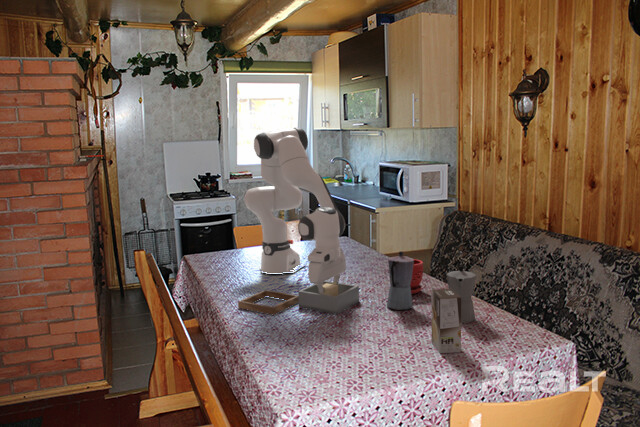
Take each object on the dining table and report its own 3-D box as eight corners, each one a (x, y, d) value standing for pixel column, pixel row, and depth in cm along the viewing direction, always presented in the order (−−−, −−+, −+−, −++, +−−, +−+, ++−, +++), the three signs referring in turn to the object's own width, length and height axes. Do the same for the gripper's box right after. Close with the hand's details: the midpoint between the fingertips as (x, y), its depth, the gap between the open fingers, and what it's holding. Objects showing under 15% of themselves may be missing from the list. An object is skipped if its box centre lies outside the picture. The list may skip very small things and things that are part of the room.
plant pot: (429, 290, 210) (429, 260, 209) (410, 298, 201) (410, 267, 199) (401, 284, 219) (401, 255, 217) (382, 292, 210) (382, 262, 208)
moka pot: (418, 302, 196) (418, 248, 193) (407, 315, 182) (406, 258, 179) (393, 299, 200) (393, 246, 197) (380, 312, 186) (379, 256, 183)
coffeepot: (474, 326, 171) (475, 271, 168) (444, 324, 173) (444, 269, 171) (476, 311, 185) (477, 260, 182) (448, 308, 188) (448, 258, 185)
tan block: (326, 298, 200) (326, 283, 199) (338, 300, 197) (338, 284, 196) (319, 302, 196) (319, 286, 195) (331, 304, 193) (331, 288, 192)
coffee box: (461, 352, 151) (462, 297, 149) (439, 353, 151) (440, 298, 148) (451, 340, 160) (451, 288, 158) (430, 341, 160) (430, 289, 157)
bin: (322, 295, 207) (322, 280, 206) (359, 301, 199) (358, 285, 198) (298, 307, 194) (298, 291, 193) (336, 314, 185) (336, 297, 185)
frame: (265, 296, 208) (265, 289, 208) (299, 302, 200) (299, 295, 199) (238, 308, 195) (238, 301, 195) (273, 315, 186) (273, 308, 186)
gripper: (335, 246, 204) (336, 281, 206) (304, 257, 187) (306, 295, 189) (349, 247, 200) (350, 283, 203) (320, 259, 183) (321, 298, 186)
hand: (328, 289), depth 196 cm, fingers open, 8 cm apart
